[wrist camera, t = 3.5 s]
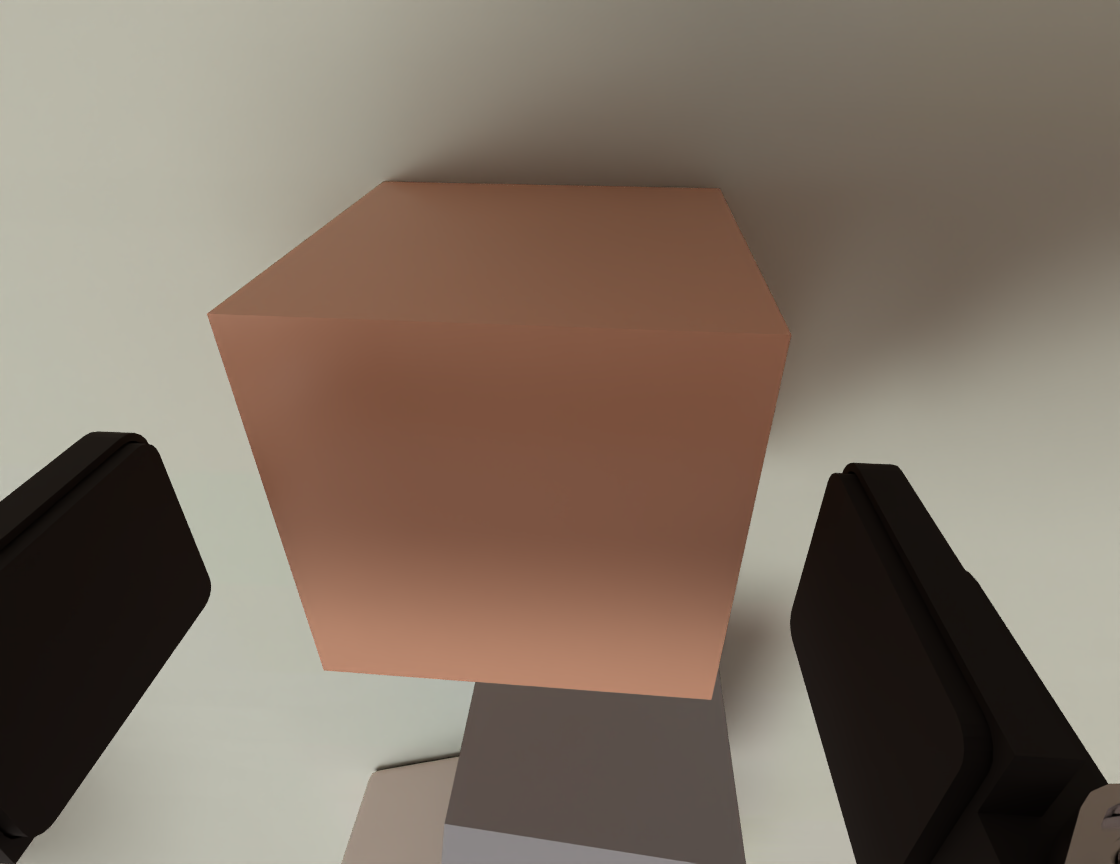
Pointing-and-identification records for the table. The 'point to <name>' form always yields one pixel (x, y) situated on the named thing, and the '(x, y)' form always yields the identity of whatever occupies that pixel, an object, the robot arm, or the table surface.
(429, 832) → the medicine bottle
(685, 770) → the slate cube
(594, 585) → the terracotta cube
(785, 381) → the table surface
